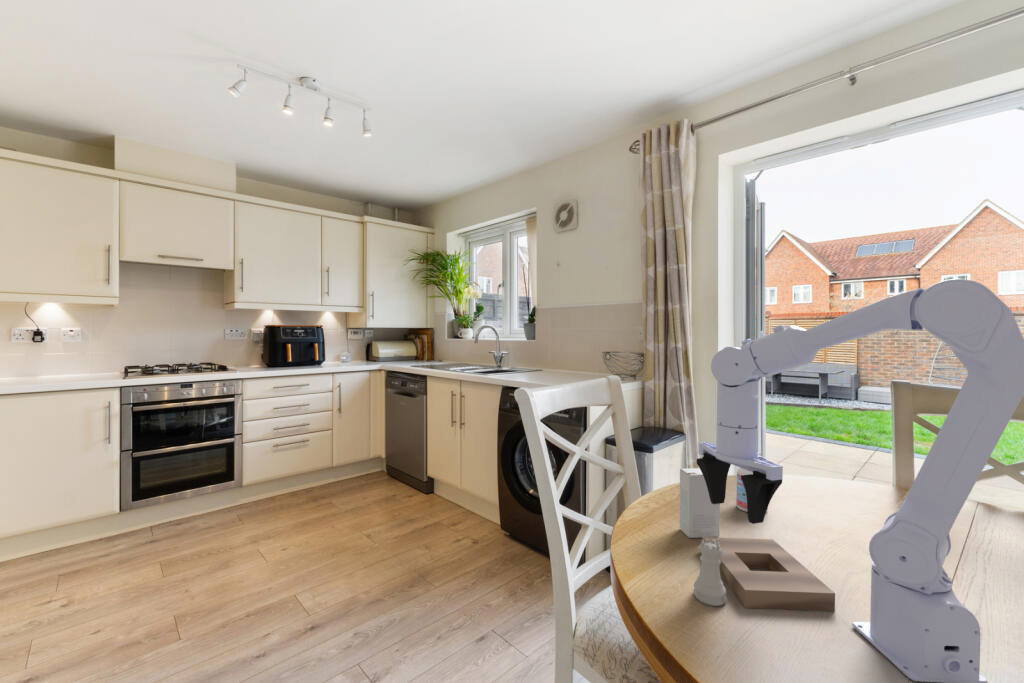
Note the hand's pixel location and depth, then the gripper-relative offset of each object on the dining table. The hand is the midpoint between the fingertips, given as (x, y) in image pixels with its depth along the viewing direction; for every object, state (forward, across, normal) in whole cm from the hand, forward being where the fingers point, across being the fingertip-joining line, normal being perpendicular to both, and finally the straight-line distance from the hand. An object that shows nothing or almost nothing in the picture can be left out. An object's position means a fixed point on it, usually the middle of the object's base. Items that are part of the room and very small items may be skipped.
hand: (735, 512), depth 69 cm
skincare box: (+10, +14, -6) cm, 19 cm away
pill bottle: (+10, +21, -25) cm, 34 cm away
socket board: (+10, -1, -4) cm, 11 cm away
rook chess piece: (+10, -3, +8) cm, 13 cm away
